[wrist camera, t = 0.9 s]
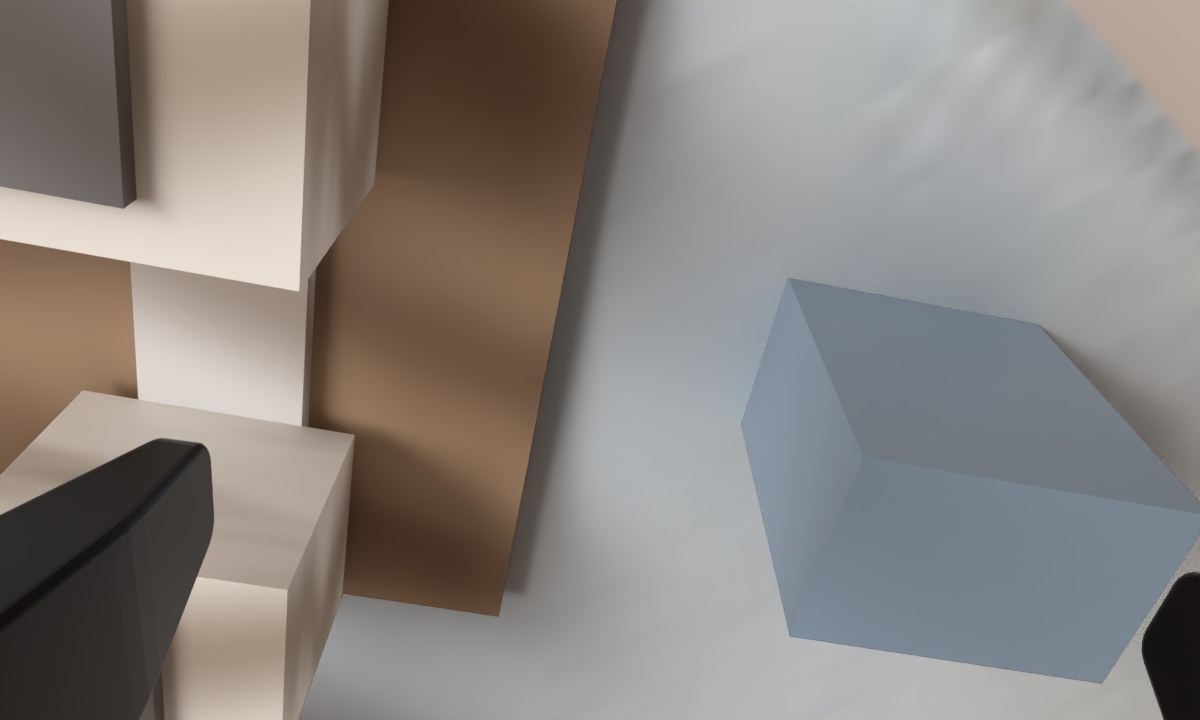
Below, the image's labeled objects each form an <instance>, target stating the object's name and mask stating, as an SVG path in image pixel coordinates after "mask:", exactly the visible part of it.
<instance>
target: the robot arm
mask: <svg viewBox="0 0 1200 720" xmlns="http://www.w3.org/2000/svg"><path fill="white" fill-rule="evenodd" d="M213 527H214V504H213V487H212V470H211V458H210V454H209V451H208V448H206V447H205V446H204V445H203V444H202V443H199V442H191V441H184V440H176V439H169V438H157V439H154V440H152V441H149V442H147V443H145V444H143V445H141V446H139V447H137V448H135V449H133V450H131V451H129V452H127V453H125V454H123V455H121V456H119V457H117V458H115V459H113V460H111V461H109V462H106V463H104V464H102V465H100V466H98V467H96V468H94V469H92V470H90V471H88V472H86V473H84V474H82V475H80V476H78V477H76V478H74V479H72V480H70V481H68V482H66V483H64V484H62V485H60V486H58V487H56V488H54V489H52V490H49V491H47V492H45V493H43V494H41V495H39V496H37V497H35V498H33V499H31V500H29V501H27V502H25V503H23V504H21V505H19V506H17V507H15V508H13V509H11V510H9V511H7V512H5V513H3V514H1V515H0V720H139V719H140V717H141V715H142V713H143V711H144V709H145V707H146V705H147V703H148V701H149V698H150V696H151V694H152V691H153V689H154V686H155V684H156V681H157V679H158V677H159V674H160V672H161V669H162V667H163V664H164V661H165V659H166V656H167V654H168V651H169V648H170V646H171V643H172V641H173V638H174V635H175V633H176V630H177V628H178V625H179V622H180V620H181V617H182V615H183V612H184V610H185V607H186V604H187V602H188V599H189V597H190V594H191V591H192V589H193V586H194V584H195V581H196V578H197V576H198V573H199V571H200V568H201V565H202V563H203V560H204V558H205V555H206V552H207V550H208V547H209V544H210V541H211V537H212V533H213ZM1142 656H1143V660H1144V664H1145V667H1146V670H1147V673H1148V676H1149V678H1150V681H1151V684H1152V687H1153V690H1154V693H1155V696H1156V699H1157V702H1158V705H1159V707H1160V710H1161V713H1162V716H1163V719H1164V720H1200V573H1199V572H1191V573H1186V574H1184V575H1183V576H1181V577H1180V578H1179V579H1177V581H1176V582H1175V583H1174V585H1173V586H1172V588H1171V590H1170V591H1169V593H1168V595H1167V596H1166V598H1165V600H1164V601H1163V603H1162V604H1161V606H1160V608H1159V609H1158V611H1157V613H1156V614H1155V616H1154V618H1153V619H1152V621H1151V623H1150V624H1149V626H1148V627H1147V629H1146V631H1145V633H1144V636H1143V640H1142Z"/></svg>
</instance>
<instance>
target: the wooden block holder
mask: <svg viewBox="0 0 1200 720" xmlns="http://www.w3.org/2000/svg"><path fill="white" fill-rule="evenodd" d="M616 2H617V0H0V515H1V514H3V513H5V512H7V511H9V510H11V509H13V508H15V507H17V506H19V505H21V504H23V503H25V502H27V501H29V500H31V499H33V498H35V497H37V496H39V495H41V494H43V493H45V492H47V491H49V490H52V489H54V488H56V487H58V486H60V485H62V484H64V483H66V482H68V481H70V480H72V479H74V478H76V477H78V476H80V475H82V474H84V473H86V472H88V471H90V470H92V469H94V468H96V467H98V466H100V465H102V464H104V463H106V462H109V461H111V460H113V459H115V458H117V457H119V456H121V455H123V454H125V453H127V452H129V451H131V450H133V449H135V448H137V447H139V446H141V445H143V444H145V443H147V442H149V441H152V440H154V439H157V438H169V439H176V440H184V441H191V442H199V443H202V444H203V445H204V446H205V447H206V448H208V451H209V454H210V458H211V470H212V487H213V504H214V527H213V533H212V537H211V541H210V544H209V547H208V550H207V552H206V555H205V558H204V560H203V563H202V565H201V568H200V571H199V573H198V576H197V578H196V581H195V584H194V586H193V589H192V591H191V594H190V597H189V599H188V602H187V604H186V607H185V610H184V612H183V615H182V617H181V620H180V622H179V625H178V628H177V630H176V633H175V635H174V638H173V641H172V643H171V646H170V648H169V651H168V654H167V656H166V659H165V661H164V664H163V667H162V669H161V672H160V674H159V677H158V679H157V681H156V684H155V686H154V689H153V691H152V694H151V696H150V698H149V701H148V703H147V705H146V707H145V709H144V711H143V713H142V715H141V717H140V719H139V720H298V719H299V716H300V713H301V711H302V708H303V705H304V702H305V699H306V697H307V694H308V691H309V688H310V685H311V683H312V680H313V677H314V674H315V671H316V669H317V666H318V663H319V660H320V657H321V655H322V652H323V649H324V646H325V643H326V641H327V638H328V635H329V632H330V629H331V626H332V624H333V621H334V618H335V615H336V612H337V610H338V607H339V604H340V601H341V598H342V593H343V594H350V595H357V596H363V597H370V598H377V599H384V600H390V601H397V602H404V603H410V604H417V605H424V606H431V607H437V608H444V609H451V610H458V611H464V612H471V613H478V614H485V615H491V616H498V617H499V612H500V606H501V601H502V596H503V591H504V586H505V580H506V575H507V570H508V565H509V559H510V554H511V549H512V544H513V539H514V533H515V528H516V523H517V518H518V513H519V507H520V502H521V497H522V492H523V487H524V481H525V476H526V471H527V466H528V460H529V455H530V450H531V445H532V440H533V434H534V429H535V424H536V419H537V414H538V408H539V403H540V398H541V393H542V388H543V382H544V377H545V372H546V367H547V361H548V356H549V351H550V346H551V341H552V335H553V330H554V325H555V320H556V315H557V309H558V304H559V299H560V294H561V289H562V283H563V278H564V273H565V268H566V262H567V257H568V252H569V247H570V242H571V236H572V231H573V226H574V221H575V216H576V210H577V205H578V200H579V195H580V190H581V184H582V179H583V174H584V169H585V163H586V158H587V153H588V148H589V143H590V137H591V132H592V127H593V122H594V117H595V111H596V106H597V101H598V96H599V91H600V85H601V80H602V75H603V70H604V64H605V59H606V54H607V49H608V44H609V38H610V33H611V28H612V23H613V18H614V12H615V7H616Z"/></svg>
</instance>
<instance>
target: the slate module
mask: <svg viewBox="0 0 1200 720" xmlns="http://www.w3.org/2000/svg"><path fill="white" fill-rule="evenodd" d="M741 426H742V431H743V435H744V440H745V444H746V448H747V453H748V457H749V461H750V466H751V470H752V474H753V479H754V483H755V487H756V492H757V496H758V500H759V505H760V509H761V513H762V518H763V522H764V526H765V531H766V535H767V539H768V544H769V548H770V552H771V557H772V561H773V565H774V570H775V574H776V578H777V583H778V587H779V591H780V596H781V600H782V604H783V609H784V613H785V617H786V622H787V626H788V631H789V635H790V637H796V638H803V639H809V640H816V641H823V642H829V643H836V644H842V645H849V646H856V647H862V648H869V649H875V650H882V651H889V652H895V653H902V654H909V655H915V656H922V657H928V658H935V659H942V660H948V661H955V662H961V663H968V664H975V665H981V666H988V667H994V668H1001V669H1008V670H1014V671H1021V672H1028V673H1034V674H1041V675H1047V676H1054V677H1061V678H1067V679H1074V680H1080V681H1087V682H1094V683H1100V684H1102V683H1103V682H1104V680H1105V678H1106V677H1107V675H1108V674H1109V672H1110V671H1111V669H1112V668H1113V666H1114V665H1115V663H1116V662H1117V660H1118V659H1119V657H1120V656H1121V654H1122V653H1123V651H1124V650H1125V648H1126V647H1127V645H1128V644H1129V642H1130V641H1131V639H1132V637H1133V636H1134V634H1135V633H1136V631H1137V630H1138V628H1139V627H1140V625H1141V624H1142V622H1143V621H1144V619H1145V618H1146V616H1147V615H1148V613H1149V612H1150V610H1151V609H1152V607H1153V606H1154V604H1155V603H1156V601H1157V600H1158V598H1159V596H1160V595H1161V593H1162V592H1163V590H1164V589H1165V587H1166V586H1167V584H1168V583H1169V581H1170V580H1171V578H1172V577H1173V575H1174V574H1175V572H1176V571H1177V569H1178V568H1179V566H1180V565H1181V563H1182V562H1183V560H1184V559H1185V557H1186V555H1187V554H1188V552H1189V551H1190V549H1191V548H1192V546H1193V545H1194V543H1195V542H1196V540H1197V539H1198V537H1199V536H1200V502H1199V501H1198V500H1197V499H1196V498H1195V497H1194V495H1193V494H1192V493H1191V492H1190V491H1189V490H1188V489H1187V488H1186V487H1185V486H1184V484H1183V483H1182V482H1181V481H1180V480H1179V479H1178V478H1177V477H1176V476H1175V475H1174V473H1173V472H1172V471H1171V470H1170V469H1169V468H1168V467H1167V466H1166V465H1165V463H1164V462H1163V461H1162V460H1161V459H1160V458H1159V457H1158V456H1157V455H1156V454H1155V452H1154V451H1153V450H1152V449H1151V448H1150V447H1149V446H1148V445H1147V444H1146V443H1145V441H1144V440H1143V439H1142V438H1141V437H1140V436H1139V435H1138V434H1137V433H1136V432H1135V430H1134V429H1133V428H1132V427H1131V426H1130V425H1129V424H1128V423H1127V422H1126V420H1125V419H1124V418H1123V417H1122V416H1121V415H1120V414H1119V413H1118V412H1117V411H1116V409H1115V408H1114V407H1113V406H1112V405H1111V404H1110V403H1109V402H1108V401H1107V400H1106V398H1105V397H1104V396H1103V395H1102V394H1101V393H1100V392H1099V391H1098V390H1097V389H1096V387H1095V386H1094V385H1093V384H1092V383H1091V382H1090V381H1089V380H1088V379H1087V377H1086V376H1085V375H1084V374H1083V373H1082V372H1081V371H1080V370H1079V369H1078V368H1077V366H1076V365H1075V364H1074V363H1073V362H1072V361H1071V360H1070V359H1069V358H1068V357H1067V355H1066V354H1065V353H1064V352H1063V351H1062V350H1061V349H1060V348H1059V347H1058V346H1057V344H1056V343H1055V342H1054V341H1053V340H1052V339H1051V338H1050V337H1049V336H1048V334H1047V333H1046V332H1045V331H1044V330H1043V329H1042V328H1041V327H1040V326H1039V325H1038V324H1033V323H1027V322H1022V321H1016V320H1011V319H1006V318H1000V317H995V316H990V315H984V314H979V313H973V312H968V311H963V310H957V309H952V308H946V307H941V306H936V305H930V304H925V303H920V302H914V301H909V300H903V299H898V298H893V297H887V296H882V295H877V294H871V293H866V292H860V291H855V290H850V289H844V288H839V287H833V286H828V285H823V284H817V283H812V282H807V281H801V280H796V279H790V278H788V280H787V283H786V286H785V289H784V292H783V295H782V299H781V302H780V305H779V308H778V311H777V314H776V317H775V320H774V323H773V327H772V330H771V333H770V336H769V339H768V342H767V345H766V348H765V351H764V354H763V358H762V361H761V364H760V367H759V370H758V373H757V376H756V379H755V382H754V385H753V389H752V392H751V395H750V398H749V401H748V404H747V407H746V410H745V413H744V417H743V420H742V423H741Z"/></svg>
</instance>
